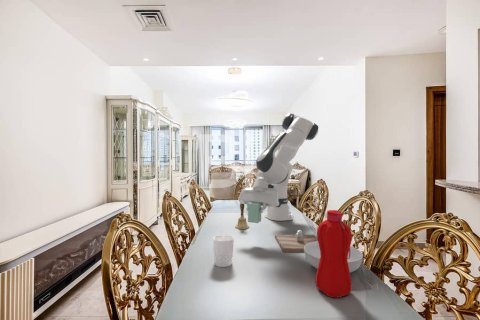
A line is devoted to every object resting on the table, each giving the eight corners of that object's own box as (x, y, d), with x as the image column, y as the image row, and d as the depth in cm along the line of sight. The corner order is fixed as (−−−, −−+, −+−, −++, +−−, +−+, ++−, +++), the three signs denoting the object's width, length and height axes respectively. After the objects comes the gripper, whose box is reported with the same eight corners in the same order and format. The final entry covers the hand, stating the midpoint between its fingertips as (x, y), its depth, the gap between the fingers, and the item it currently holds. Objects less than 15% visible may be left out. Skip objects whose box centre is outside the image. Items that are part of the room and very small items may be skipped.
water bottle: (336, 304, 74) (338, 216, 73) (311, 286, 84) (312, 208, 83) (360, 297, 77) (362, 213, 77) (333, 281, 87) (334, 206, 87)
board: (274, 237, 134) (274, 234, 134) (313, 237, 135) (313, 234, 135) (282, 251, 114) (282, 248, 114) (327, 251, 115) (328, 248, 115)
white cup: (217, 269, 96) (218, 242, 96) (210, 261, 103) (210, 236, 103) (237, 265, 99) (237, 239, 99) (228, 258, 106) (228, 233, 106)
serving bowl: (300, 275, 92) (300, 256, 92) (306, 254, 111) (306, 238, 111) (365, 286, 84) (366, 265, 84) (359, 261, 104) (360, 244, 104)
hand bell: (232, 228, 151) (233, 200, 151) (238, 224, 158) (238, 198, 158) (246, 229, 148) (246, 201, 147) (251, 226, 155) (251, 199, 155)
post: (295, 239, 126) (295, 229, 126) (301, 239, 126) (301, 229, 126) (297, 241, 123) (297, 231, 123) (303, 241, 123) (303, 231, 123)
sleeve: (251, 219, 130) (251, 201, 130) (261, 220, 128) (261, 202, 128) (247, 222, 125) (248, 203, 125) (257, 223, 123) (258, 204, 123)
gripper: (241, 183, 137) (233, 205, 128) (279, 186, 129) (273, 209, 120) (244, 191, 141) (236, 212, 132) (281, 194, 133) (275, 217, 124)
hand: (254, 211), depth 126 cm, fingers closed on sleeve, 5 cm apart
